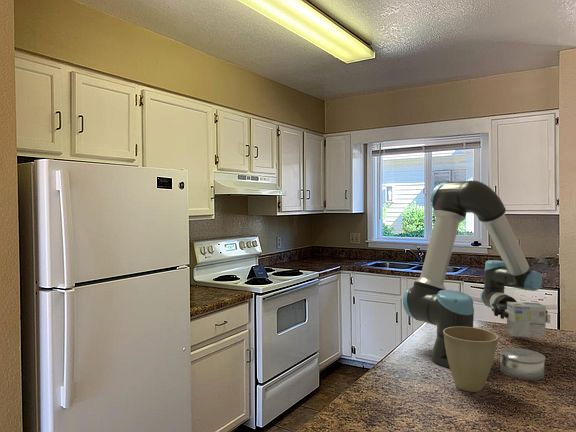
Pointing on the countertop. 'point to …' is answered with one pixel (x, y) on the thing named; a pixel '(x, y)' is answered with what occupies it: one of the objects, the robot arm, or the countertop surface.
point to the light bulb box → (527, 319)
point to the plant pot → (470, 355)
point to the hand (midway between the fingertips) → (531, 318)
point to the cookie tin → (522, 363)
